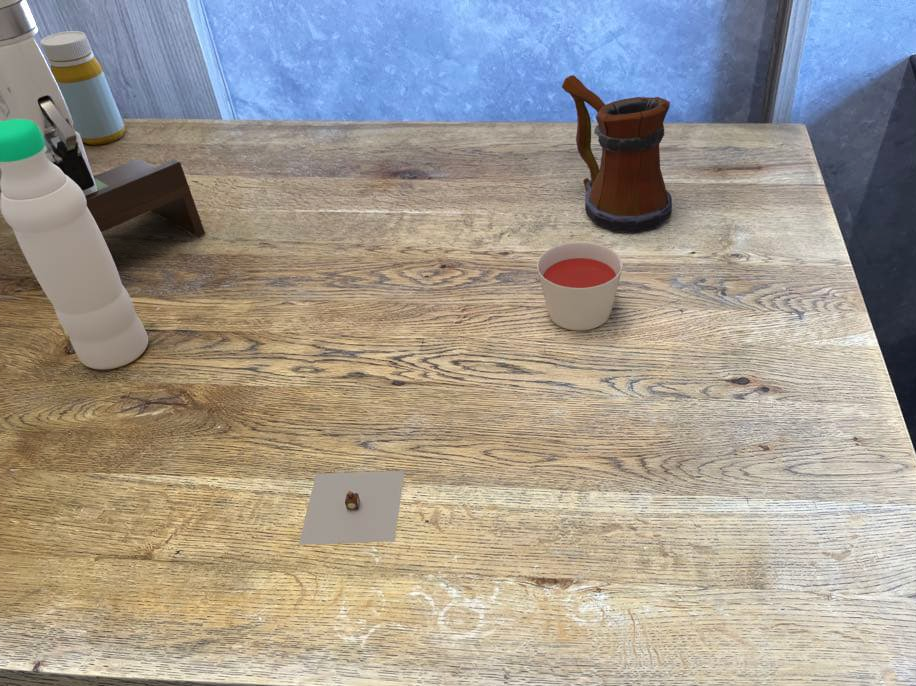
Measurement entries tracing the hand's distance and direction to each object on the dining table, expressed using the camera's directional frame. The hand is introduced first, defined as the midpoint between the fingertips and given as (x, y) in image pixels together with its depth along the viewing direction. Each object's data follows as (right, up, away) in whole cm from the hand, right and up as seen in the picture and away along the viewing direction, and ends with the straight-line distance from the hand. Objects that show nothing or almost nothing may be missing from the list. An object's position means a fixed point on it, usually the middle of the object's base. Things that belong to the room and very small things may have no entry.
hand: (65, 179), depth 96 cm
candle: (+61, -17, -6) cm, 63 cm away
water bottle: (+11, -21, -9) cm, 25 cm away
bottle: (-13, +16, +33) cm, 39 cm away
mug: (+66, 0, +12) cm, 67 cm away
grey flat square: (+40, -36, -26) cm, 59 cm away
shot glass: (0, -2, +2) cm, 2 cm away
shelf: (+3, -6, +8) cm, 10 cm away
